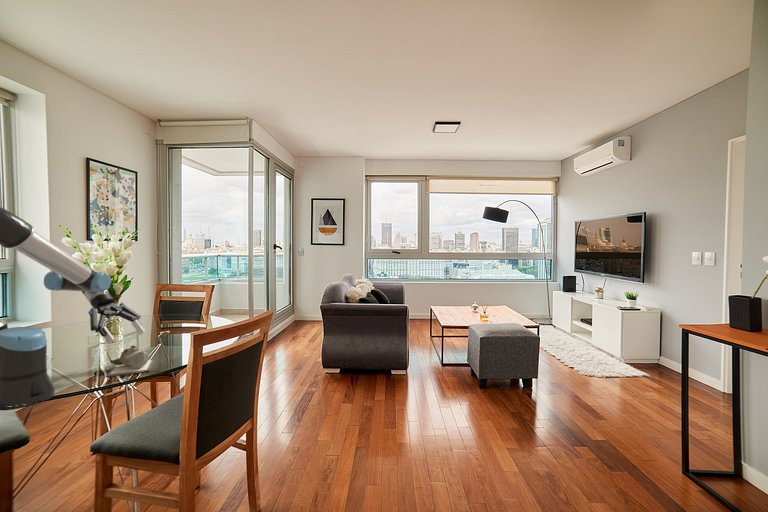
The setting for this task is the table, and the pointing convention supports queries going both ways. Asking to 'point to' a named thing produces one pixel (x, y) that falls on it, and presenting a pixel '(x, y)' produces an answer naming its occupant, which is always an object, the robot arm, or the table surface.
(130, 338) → the table surface
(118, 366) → the linen sheet mat
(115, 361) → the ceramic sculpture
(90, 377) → the table surface
